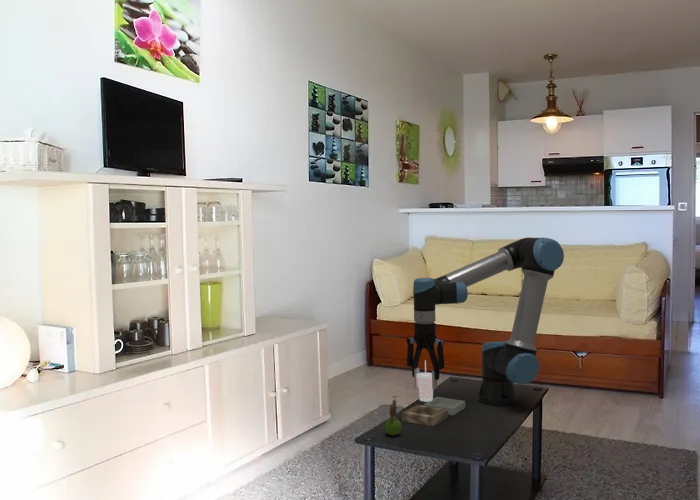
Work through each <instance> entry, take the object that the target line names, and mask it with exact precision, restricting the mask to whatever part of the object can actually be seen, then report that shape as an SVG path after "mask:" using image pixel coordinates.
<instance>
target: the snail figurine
mask: <svg viewBox="0 0 700 500" xmlns="http://www.w3.org/2000/svg"><path fill="white" fill-rule="evenodd" d="M392 398H393V400H392V403H391V404H390V407H389V416H390V418H388V419H387V420H386V422H385V424H384V430H385V432H386V434H388V435H389V436H397V435H399V434H400V433H401V431H402V423H401V421H400V420H399V419H398V418H396V416H397V400H396V399H397V395H392Z"/></svg>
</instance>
